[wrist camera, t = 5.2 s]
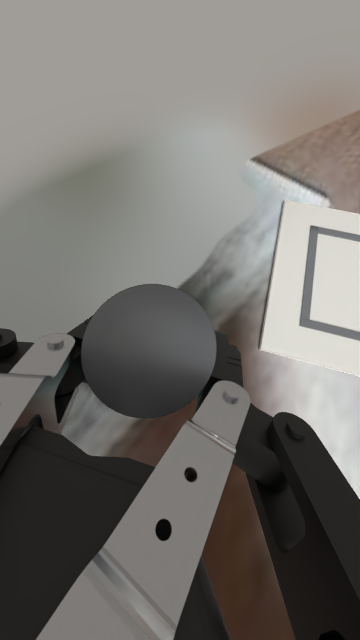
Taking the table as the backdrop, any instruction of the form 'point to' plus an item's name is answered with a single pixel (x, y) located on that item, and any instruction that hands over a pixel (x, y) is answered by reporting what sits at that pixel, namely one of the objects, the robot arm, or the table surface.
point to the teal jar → (148, 351)
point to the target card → (315, 289)
